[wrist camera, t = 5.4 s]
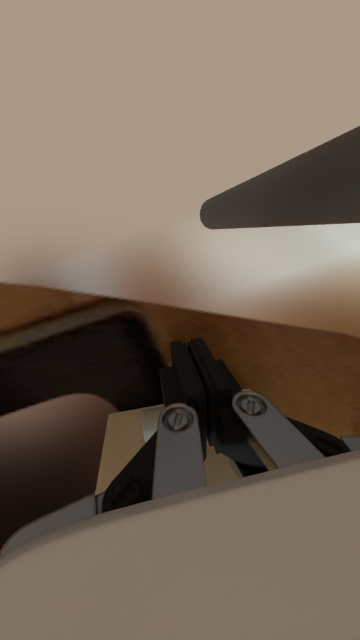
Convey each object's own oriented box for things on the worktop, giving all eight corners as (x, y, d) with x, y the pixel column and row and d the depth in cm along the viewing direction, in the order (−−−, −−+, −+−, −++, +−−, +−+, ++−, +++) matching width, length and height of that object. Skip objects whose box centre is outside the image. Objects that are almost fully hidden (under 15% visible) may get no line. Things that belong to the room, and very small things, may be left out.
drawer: (96, 366, 14) (54, 498, 7) (253, 343, 16) (345, 431, 9) (134, 513, 21) (132, 654, 14) (241, 487, 23) (287, 601, 16)
